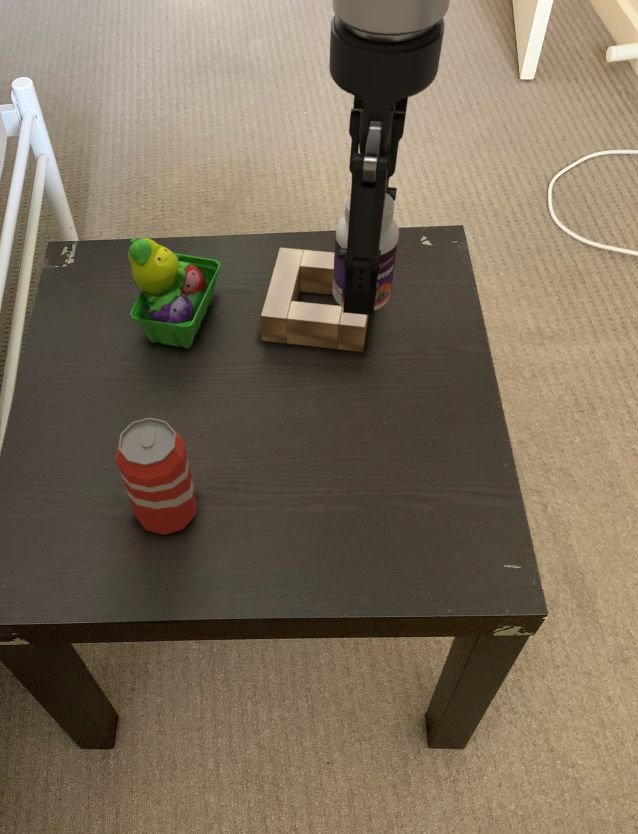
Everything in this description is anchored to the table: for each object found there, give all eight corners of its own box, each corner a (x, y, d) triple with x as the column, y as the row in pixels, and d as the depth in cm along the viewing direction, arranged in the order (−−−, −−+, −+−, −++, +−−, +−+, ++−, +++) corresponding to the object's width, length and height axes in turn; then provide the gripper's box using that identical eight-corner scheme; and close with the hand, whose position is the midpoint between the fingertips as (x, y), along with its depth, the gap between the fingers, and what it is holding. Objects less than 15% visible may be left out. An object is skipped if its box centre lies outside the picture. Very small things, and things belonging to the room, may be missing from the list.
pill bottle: (343, 320, 68) (349, 230, 60) (324, 281, 71) (327, 190, 62) (399, 306, 68) (413, 215, 60) (378, 269, 71) (389, 176, 63)
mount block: (374, 282, 94) (377, 256, 90) (362, 352, 88) (365, 327, 84) (280, 273, 95) (279, 247, 92) (262, 340, 89) (260, 315, 86)
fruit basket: (196, 359, 88) (183, 284, 79) (126, 346, 90) (105, 271, 80) (225, 293, 94) (217, 216, 84) (159, 282, 96) (144, 205, 86)
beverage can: (198, 484, 79) (183, 411, 68) (195, 537, 75) (179, 468, 65) (140, 486, 79) (117, 413, 69) (134, 538, 75) (109, 470, 65)
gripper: (348, -51, 55) (334, 219, 74) (311, 88, 45) (307, 357, 65) (452, -47, 54) (411, 226, 73) (437, 95, 44) (394, 366, 64)
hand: (362, 287), depth 69 cm, fingers closed on pill bottle, 5 cm apart
